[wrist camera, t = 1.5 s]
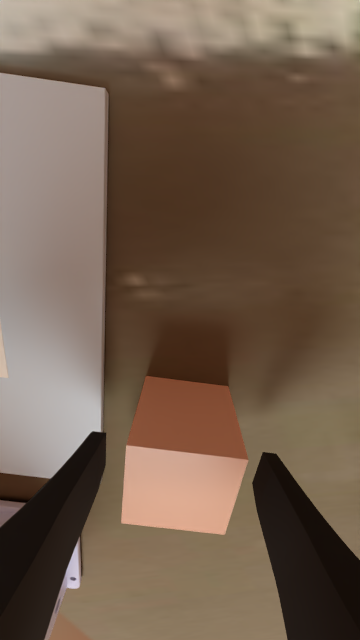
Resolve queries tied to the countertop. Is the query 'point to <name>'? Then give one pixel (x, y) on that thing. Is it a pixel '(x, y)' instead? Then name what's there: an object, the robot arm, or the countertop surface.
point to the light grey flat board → (51, 270)
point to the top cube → (183, 457)
